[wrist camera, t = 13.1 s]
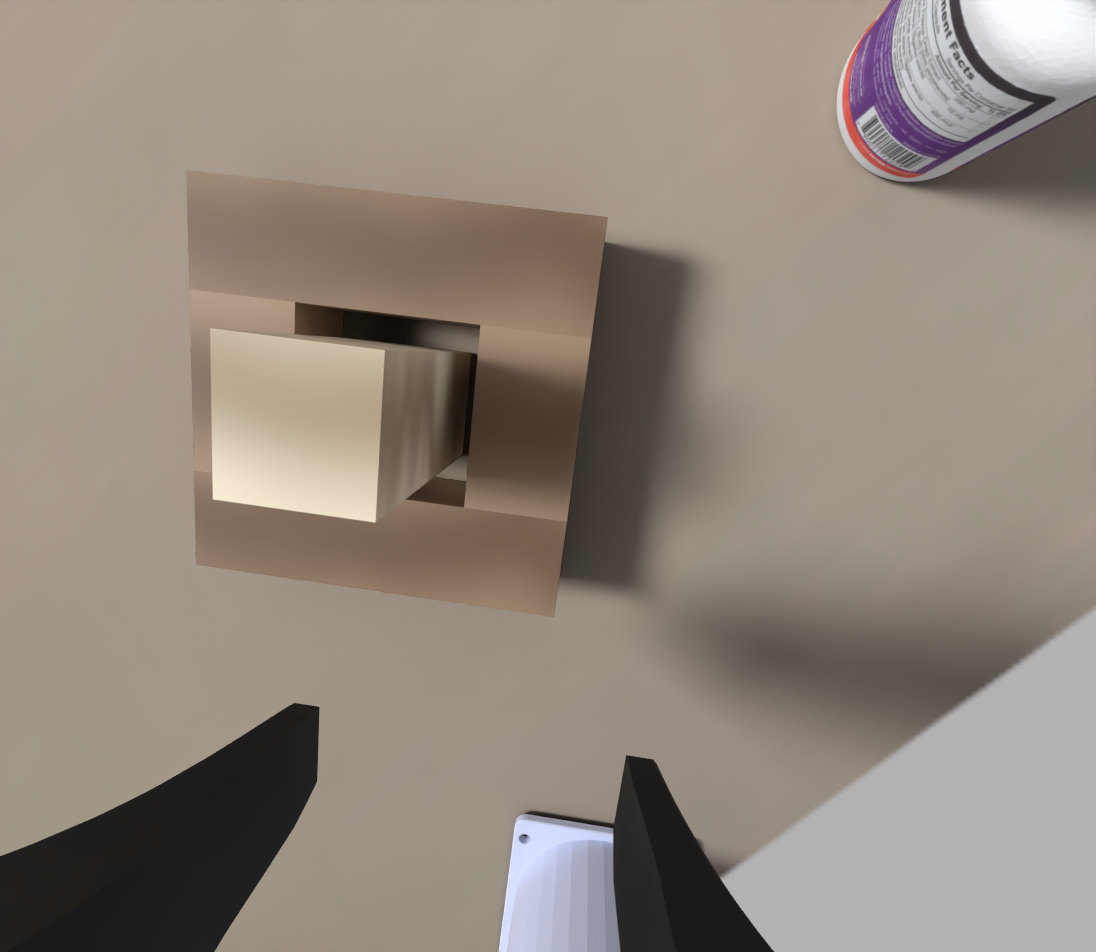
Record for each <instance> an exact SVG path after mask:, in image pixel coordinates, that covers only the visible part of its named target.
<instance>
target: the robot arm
mask: <svg viewBox="0 0 1096 952" xmlns="http://www.w3.org/2000/svg"><path fill="white" fill-rule="evenodd" d="M318 734H319V707H316V706H310V705H303V704H297V703H294V704H292V705H290V706H288V707H287V708H285V709H284V710H282V711H280V712H279V713H277V714H276V715H274V716H272V717H271V718H269V719H268V720H266V721H265V722H263V723H262V724H260V725H258V726H257V727H255V728H254V729H252V730H251V731H249V732H248V733H246V734H244V735H243V736H241V737H240V738H238V739H236V740H235V741H233V742H232V743H230V744H228V745H227V746H225V747H224V748H222V749H220V750H219V751H217V752H216V753H214V754H212V755H211V756H209V757H207V758H206V759H204V760H202V761H201V762H199V763H197V764H195V765H194V766H192V767H190V768H188V769H187V770H185V771H183V772H181V773H180V774H178V775H176V776H174V777H173V778H171V779H169V780H167V781H166V782H164V783H162V784H161V785H159V786H157V787H155V788H153V789H151V790H149V791H147V792H145V793H144V794H142V795H140V796H138V797H136V798H134V799H132V800H130V801H128V802H126V803H124V804H122V805H120V806H118V807H115V808H113V809H111V810H109V811H107V812H105V813H103V814H101V815H99V816H97V817H95V818H92V819H90V820H88V821H85V822H83V823H81V824H78V825H76V826H74V827H71V828H69V829H67V830H64V831H62V832H60V833H57V834H55V835H53V836H50V837H48V838H46V839H43V840H41V841H39V842H36V843H34V844H31V845H29V846H26V847H24V848H21V849H19V850H16V851H13V852H11V853H8V854H5V855H3V856H0V952H214V951H215V950H216V948H217V946H218V945H219V943H220V941H221V940H222V938H223V936H224V935H225V933H226V931H227V930H228V928H229V927H230V925H231V924H232V922H233V921H234V919H235V918H236V916H237V915H238V913H239V912H240V910H241V908H242V907H243V905H244V904H245V902H246V901H247V899H248V898H249V896H250V895H251V893H252V892H253V890H254V889H255V887H256V885H257V884H258V882H259V881H260V879H261V878H262V876H263V875H264V873H265V872H266V870H267V869H268V867H269V866H270V864H271V862H272V861H273V859H274V858H275V856H276V855H277V853H278V852H279V850H280V848H281V847H282V845H283V844H284V842H285V841H286V839H287V838H288V836H289V834H290V833H291V831H292V830H293V828H294V826H295V824H296V822H297V821H298V819H299V817H300V815H301V813H302V811H303V809H304V807H305V805H306V803H307V801H308V799H309V797H310V795H311V793H312V791H313V789H314V787H315V784H316V782H317V767H318ZM522 834H526V835H528V836H523V835H522ZM499 952H774V951H773V950H772V949H771V947H770V946H769V945H768V944H767V942H766V941H765V940H764V939H763V937H762V936H761V935H760V934H759V932H758V931H757V930H756V928H755V927H754V926H753V924H752V923H751V922H750V920H749V919H748V918H747V916H746V915H745V914H744V912H743V911H742V910H741V908H740V907H739V905H738V904H737V903H736V901H735V900H734V898H733V897H732V895H731V894H730V893H729V891H728V890H727V888H726V887H725V885H724V884H723V882H722V881H721V879H720V877H719V876H718V874H717V873H716V871H715V870H714V868H713V867H712V865H711V864H710V862H709V860H708V859H707V857H706V855H705V854H704V852H703V851H702V849H701V847H700V846H699V844H698V842H697V840H696V839H695V837H694V835H693V833H692V832H691V830H690V828H689V827H688V825H687V823H686V821H685V819H684V818H683V816H682V814H681V812H680V810H679V808H678V806H677V805H676V803H675V801H674V799H673V797H672V795H671V793H670V791H669V789H668V787H667V785H666V783H665V781H664V779H663V777H662V774H661V772H660V770H659V768H658V766H657V764H656V763H655V761H654V760H653V759H646V758H640V757H634V756H627V755H626V760H625V766H624V772H623V777H622V783H621V788H620V794H619V800H618V805H617V811H616V817H615V822H614V828H608V827H602V826H596V825H590V824H584V823H578V822H572V821H566V820H560V819H553V818H547V817H541V816H535V815H529V814H523V815H520V816H519V817H518V818H517V819H516V822H515V829H514V837H513V845H512V852H511V860H510V868H509V876H508V884H507V891H506V899H505V907H504V915H503V922H502V930H501V938H500V946H499Z"/></svg>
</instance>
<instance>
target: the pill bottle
mask: <svg viewBox="0 0 1096 952" xmlns="http://www.w3.org/2000/svg"><path fill="white" fill-rule="evenodd" d="M1095 97H1096V0H891V1H890V3H889V4H888V5H887V6H886V7H885V8H884V10H883V11H882V12H881V13H880V14H879V16H878V17H877V18H876V19H875V20H874V21H873V22H872V24H871V25H870V26H869V28H868V29H867V30H866V32H865V33H864V34H863V35H862V37H861V38H860V39H859V41H858V42H857V44H856V45H855V47H854V49H853V50H852V52H851V54H850V56H849V58H848V60H847V62H846V64H845V67H844V69H843V72H842V75H841V79H840V83H839V87H838V94H837V118H838V124H839V129H840V132H841V135H842V138H843V140H844V142H845V144H846V146H847V148H848V150H849V151H850V153H851V154H852V155H853V157H854V158H855V159H856V160H857V161H858V162H859V163H860V164H861V165H862V166H863V167H864V168H866V169H867V170H868V171H870V172H872V173H874V174H876V175H878V176H880V177H883V178H886V179H890V180H895V181H903V182H915V181H923V180H928V179H932V178H935V177H938V176H941V175H943V174H946V173H948V172H950V171H953V170H955V169H957V168H960V167H962V166H964V165H966V164H968V163H970V162H972V161H974V160H976V159H977V158H980V157H981V156H983V155H985V154H987V153H989V152H991V151H992V150H995V149H997V148H999V147H1000V146H1002V145H1004V144H1006V143H1008V142H1010V141H1012V140H1014V139H1016V138H1018V137H1020V136H1021V135H1023V134H1025V133H1027V132H1029V131H1031V130H1033V129H1035V128H1037V127H1039V126H1041V125H1043V124H1045V123H1046V122H1048V121H1050V120H1052V119H1054V118H1056V117H1058V116H1060V115H1062V114H1064V113H1066V112H1068V111H1070V110H1072V109H1074V108H1076V107H1078V106H1080V105H1081V104H1083V103H1085V102H1087V101H1089V100H1091V99H1093V98H1095Z"/></svg>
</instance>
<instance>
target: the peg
mask: <svg viewBox="0 0 1096 952" xmlns="http://www.w3.org/2000/svg"><path fill="white" fill-rule="evenodd" d="M210 353H211V417H212V480H213V499H214V500H221V501H228V502H235V503H242V504H249V505H256V506H263V507H270V508H277V509H284V510H291V511H298V512H305V513H312V514H319V515H326V516H333V517H340V518H347V519H354V520H361V521H368V522H375V523H376V522H377V521H378V520H379V519H381V518H382V517H383V516H385V515H386V514H387V513H388V512H390V511H391V510H392V509H394V508H395V507H396V506H397V505H399V504H400V503H401V502H403V501H404V500H405V499H406V498H408V497H409V496H410V495H412V494H413V493H414V492H415V491H417V490H418V489H419V488H421V487H422V486H423V485H424V484H426V483H427V482H428V481H430V480H431V479H432V478H433V477H435V476H436V475H437V474H439V473H440V472H441V471H442V470H444V469H445V468H446V467H448V466H449V465H450V464H451V463H453V462H454V461H455V460H457V459H458V458H459V457H460V456H462V452H463V441H464V429H465V418H466V407H467V396H468V384H469V373H470V362H471V353H469V352H461V351H453V350H445V349H437V348H430V347H422V346H414V345H406V344H398V343H390V342H382V341H374V340H365V339H351V338H338V337H325V336H311V335H298V334H284V333H271V332H258V331H244V330H231V329H218V328H210Z"/></svg>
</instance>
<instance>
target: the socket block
mask: <svg viewBox="0 0 1096 952" xmlns="http://www.w3.org/2000/svg"><path fill="white" fill-rule="evenodd" d="M186 172H187V211H188V251H189V291H190V330H191V370H192V409H193V449H194V489H195V528H196V565H202V566H209V567H216V568H223V569H229V570H236V571H243V572H250V573H257V574H264V575H270V576H277V577H284V578H291V579H298V580H305V581H311V582H318V583H325V584H332V585H339V586H345V587H352V588H359V589H366V590H373V591H380V592H386V593H393V594H400V595H407V596H414V597H421V598H427V599H434V600H441V601H448V602H455V603H462V604H468V605H475V606H482V607H489V608H496V609H503V610H509V611H516V612H523V613H530V614H537V615H543V616H550V617H554V614H555V607H556V599H557V592H558V585H559V577H560V570H561V562H562V555H563V547H564V540H565V533H566V525H567V518H568V510H569V503H570V495H571V488H572V480H573V473H574V466H575V458H576V451H577V443H578V436H579V428H580V421H581V413H582V406H583V398H584V391H585V384H586V376H587V369H588V361H589V354H590V346H591V339H592V331H593V324H594V317H595V309H596V302H597V294H598V287H599V279H600V272H601V264H602V257H603V249H604V242H605V234H606V227H607V219H608V217H601V216H592V215H583V214H574V213H565V212H556V211H547V210H538V209H529V208H521V207H512V206H503V205H494V204H485V203H476V202H467V201H458V200H449V199H440V198H431V197H422V196H413V195H404V194H395V193H386V192H377V191H368V190H359V189H350V188H341V187H332V186H323V185H314V184H305V183H296V182H287V181H278V180H269V179H260V178H251V177H243V176H234V175H225V174H216V173H207V172H198V171H189V170H186ZM343 311H347V312H355V313H363V314H371V315H380V316H388V317H396V318H404V319H412V320H420V321H429V322H437V323H445V324H453V325H461V326H470V327H478V328H480V335H479V346H478V358H477V369H476V380H475V391H474V402H473V414H472V425H471V436H470V447H469V458H468V469H467V481H466V482H465V481H458V480H450V479H443V478H436V477H433V478H432V479H431V480H430V481H428V482H427V483H426V484H424V485H423V486H422V487H421V488H419V489H418V490H417V491H415V492H414V493H413V494H412V495H410V496H409V497H408V498H406V499H405V500H404V501H403V502H401V503H400V504H399V505H397V506H396V507H395V508H394V509H392V510H391V511H390V512H388V513H387V514H386V515H385V516H383V517H382V518H381V519H379V520H378V521H377V522H376V523H375V522H368V521H361V520H354V519H347V518H340V517H333V516H326V515H319V514H312V513H305V512H298V511H291V510H284V509H277V508H270V507H263V506H256V505H249V504H242V503H235V502H228V501H221V500H214V499H213V480H212V417H211V353H210V328H218V329H231V330H244V331H258V332H271V333H284V334H298V335H311V336H325V337H338V338H342V337H343Z"/></svg>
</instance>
